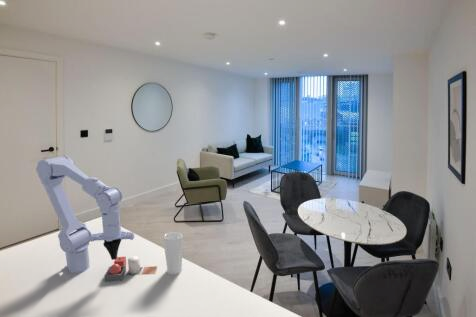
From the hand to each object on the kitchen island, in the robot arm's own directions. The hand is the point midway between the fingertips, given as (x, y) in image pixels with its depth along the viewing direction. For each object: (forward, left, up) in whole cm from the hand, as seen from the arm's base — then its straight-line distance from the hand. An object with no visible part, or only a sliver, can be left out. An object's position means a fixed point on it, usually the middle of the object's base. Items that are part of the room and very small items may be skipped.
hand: (114, 258), depth 108 cm
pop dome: (0, 0, -6) cm, 6 cm away
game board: (+1, +6, -8) cm, 10 cm away
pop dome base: (0, 0, -7) cm, 7 cm away
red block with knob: (-5, +4, -7) cm, 10 cm away
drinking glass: (+11, +18, -8) cm, 23 cm away
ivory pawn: (+1, +6, -7) cm, 10 cm away
